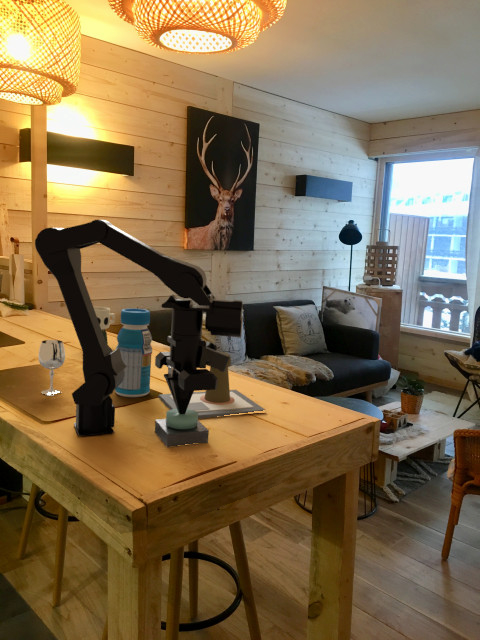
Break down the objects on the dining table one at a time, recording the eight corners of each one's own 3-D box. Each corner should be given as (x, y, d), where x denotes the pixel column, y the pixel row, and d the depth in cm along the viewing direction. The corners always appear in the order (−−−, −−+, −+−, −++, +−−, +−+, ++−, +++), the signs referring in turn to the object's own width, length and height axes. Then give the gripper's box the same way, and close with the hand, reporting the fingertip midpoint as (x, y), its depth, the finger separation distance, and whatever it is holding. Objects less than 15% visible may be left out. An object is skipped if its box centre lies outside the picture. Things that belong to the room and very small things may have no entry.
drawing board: (180, 420, 113) (180, 415, 113) (158, 397, 127) (158, 393, 127) (265, 413, 121) (265, 408, 121) (235, 392, 136) (236, 388, 136)
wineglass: (57, 387, 129) (58, 338, 128) (68, 393, 125) (70, 343, 124) (33, 391, 125) (34, 340, 124) (44, 397, 121) (45, 345, 120)
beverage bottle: (118, 399, 124) (121, 313, 121) (110, 388, 131) (113, 307, 128) (154, 397, 128) (158, 313, 125) (144, 387, 135) (148, 307, 132)
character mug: (84, 351, 169) (85, 310, 167) (77, 346, 174) (78, 306, 172) (117, 349, 175) (119, 309, 173) (109, 344, 180) (111, 306, 178)
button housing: (167, 447, 98) (167, 434, 98) (154, 431, 105) (155, 419, 105) (207, 443, 102) (208, 430, 101) (193, 428, 109) (194, 416, 108)
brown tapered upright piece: (235, 399, 126) (238, 353, 124) (217, 404, 122) (220, 356, 120) (217, 393, 130) (220, 348, 128) (198, 397, 126) (201, 351, 124)
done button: (171, 430, 99) (171, 420, 99) (161, 419, 105) (162, 409, 104) (201, 427, 102) (202, 417, 101) (191, 417, 107) (191, 407, 107)
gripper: (247, 342, 96) (240, 427, 98) (208, 324, 112) (203, 396, 115) (187, 343, 91) (182, 432, 93) (156, 324, 108) (152, 400, 110)
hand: (181, 413), depth 103 cm, fingers closed, pressing on done button
